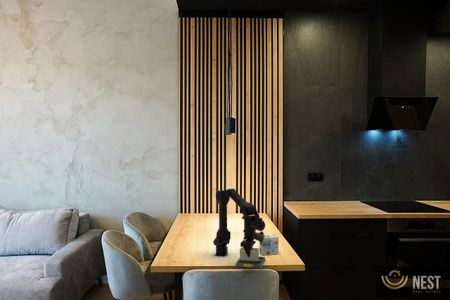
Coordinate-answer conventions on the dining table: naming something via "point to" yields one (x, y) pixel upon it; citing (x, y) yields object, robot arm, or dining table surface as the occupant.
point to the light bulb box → (269, 245)
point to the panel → (253, 254)
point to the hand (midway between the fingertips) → (249, 255)
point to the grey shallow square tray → (251, 263)
